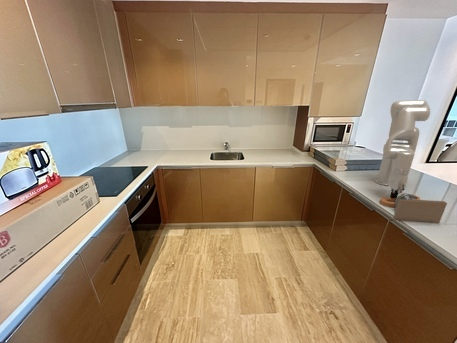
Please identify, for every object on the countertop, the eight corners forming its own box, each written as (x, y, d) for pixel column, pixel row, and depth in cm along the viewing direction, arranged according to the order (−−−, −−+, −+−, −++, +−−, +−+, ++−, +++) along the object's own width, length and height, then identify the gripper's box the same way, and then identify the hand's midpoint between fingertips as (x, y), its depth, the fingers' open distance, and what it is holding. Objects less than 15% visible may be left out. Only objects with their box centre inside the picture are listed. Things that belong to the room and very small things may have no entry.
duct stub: (383, 208, 116) (388, 190, 112) (422, 210, 112) (429, 192, 108) (395, 220, 105) (401, 200, 101) (439, 223, 101) (447, 203, 97)
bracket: (413, 204, 119) (416, 194, 116) (419, 211, 112) (423, 201, 109) (377, 200, 125) (380, 190, 123) (381, 206, 118) (384, 196, 116)
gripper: (386, 167, 124) (380, 192, 131) (401, 175, 110) (392, 203, 117) (400, 167, 122) (393, 192, 129) (416, 176, 109) (407, 204, 115)
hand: (393, 197), depth 123 cm, fingers closed
